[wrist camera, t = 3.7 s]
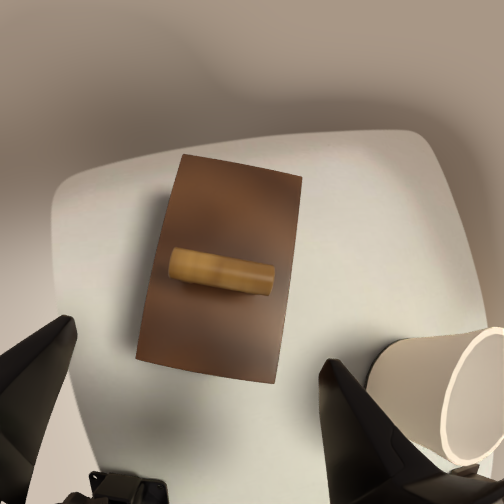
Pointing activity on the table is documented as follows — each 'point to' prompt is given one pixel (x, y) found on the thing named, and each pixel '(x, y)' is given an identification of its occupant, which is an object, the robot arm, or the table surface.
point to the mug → (444, 392)
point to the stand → (471, 473)
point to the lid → (222, 271)
